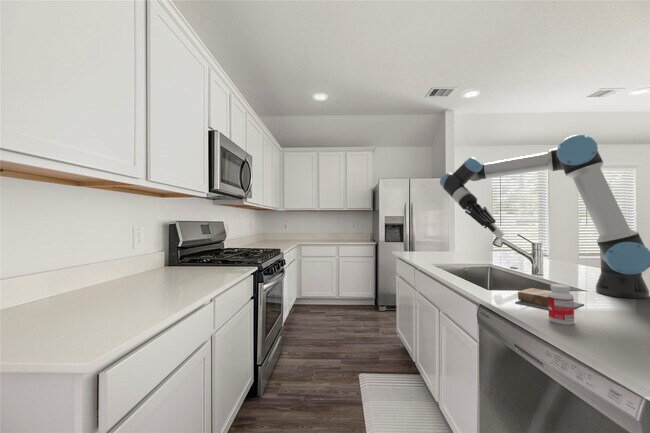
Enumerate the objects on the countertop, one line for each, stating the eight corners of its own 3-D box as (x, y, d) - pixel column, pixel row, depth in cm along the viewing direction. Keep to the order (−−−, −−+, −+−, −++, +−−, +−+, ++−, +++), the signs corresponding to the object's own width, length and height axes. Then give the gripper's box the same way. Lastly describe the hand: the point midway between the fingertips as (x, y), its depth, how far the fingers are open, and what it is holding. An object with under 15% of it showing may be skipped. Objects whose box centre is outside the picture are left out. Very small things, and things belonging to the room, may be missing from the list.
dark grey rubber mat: (584, 305, 106) (584, 304, 106) (563, 313, 98) (563, 312, 98) (537, 296, 119) (537, 295, 119) (515, 303, 111) (515, 301, 111)
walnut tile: (531, 296, 118) (571, 303, 107) (518, 300, 113) (558, 308, 102) (531, 287, 118) (571, 294, 107) (517, 291, 113) (558, 299, 102)
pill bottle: (550, 317, 95) (549, 282, 95) (575, 321, 91) (574, 285, 91) (547, 322, 91) (545, 285, 91) (573, 326, 87) (571, 288, 87)
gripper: (469, 204, 146) (504, 240, 131) (451, 205, 139) (486, 243, 125) (478, 192, 141) (516, 229, 127) (460, 192, 135) (498, 231, 120)
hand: (501, 236), depth 126 cm, fingers closed
